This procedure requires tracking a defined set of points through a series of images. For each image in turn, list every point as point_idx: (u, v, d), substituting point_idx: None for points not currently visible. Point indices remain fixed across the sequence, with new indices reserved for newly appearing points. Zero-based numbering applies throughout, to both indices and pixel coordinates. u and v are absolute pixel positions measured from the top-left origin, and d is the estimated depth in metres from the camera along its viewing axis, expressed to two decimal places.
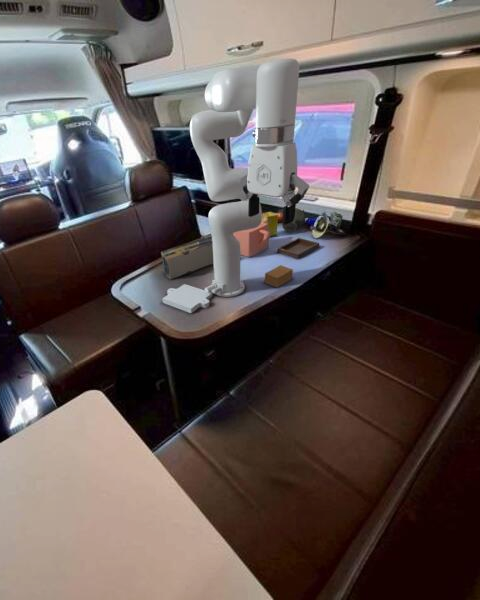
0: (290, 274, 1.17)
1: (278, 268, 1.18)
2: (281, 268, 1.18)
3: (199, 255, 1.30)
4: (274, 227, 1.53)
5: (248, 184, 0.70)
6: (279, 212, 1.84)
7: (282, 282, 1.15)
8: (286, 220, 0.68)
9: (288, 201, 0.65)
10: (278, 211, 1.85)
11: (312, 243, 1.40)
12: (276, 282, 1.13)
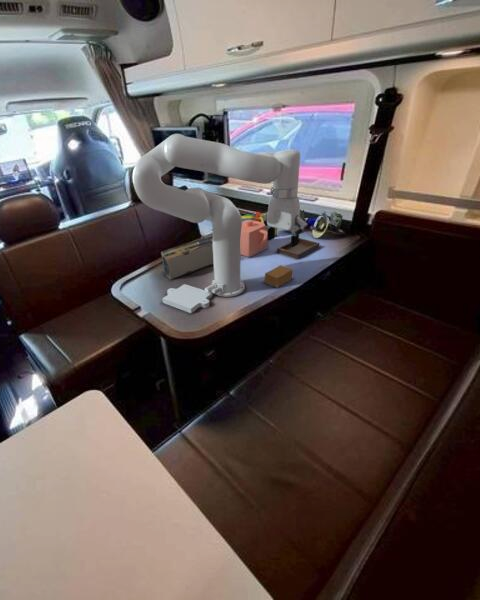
0: (290, 274, 1.17)
1: (278, 268, 1.18)
2: (281, 268, 1.18)
3: (199, 255, 1.30)
4: None
5: (267, 220, 1.07)
6: None
7: (282, 282, 1.15)
8: (293, 244, 1.04)
9: (294, 233, 1.02)
10: None
11: (312, 243, 1.40)
12: (276, 282, 1.13)
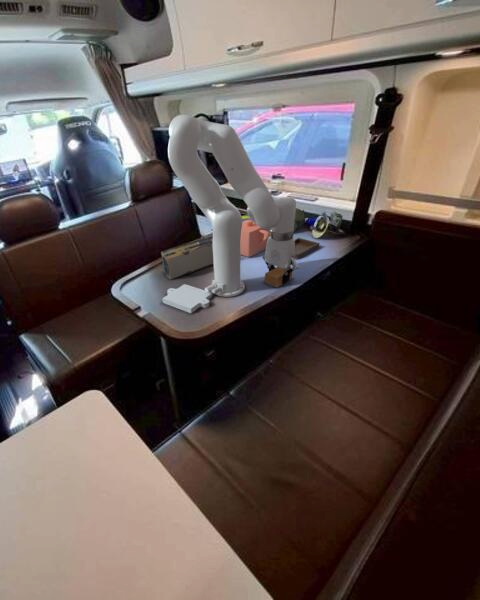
0: (290, 274, 1.17)
1: (278, 268, 1.18)
2: (281, 268, 1.18)
3: (199, 255, 1.30)
4: None
5: (265, 258, 1.15)
6: None
7: None
8: (284, 281, 1.15)
9: (285, 272, 1.12)
10: None
11: (312, 243, 1.40)
12: (276, 282, 1.13)
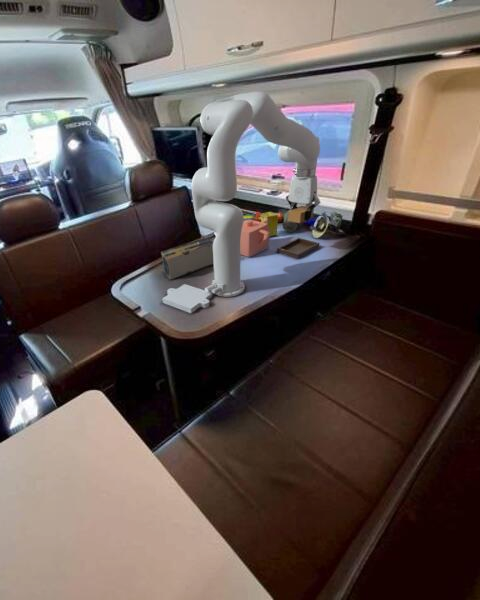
0: None
1: (300, 207, 1.30)
2: (303, 207, 1.30)
3: (200, 255, 1.30)
4: (274, 227, 1.53)
5: (289, 197, 1.27)
6: (279, 212, 1.84)
7: (304, 219, 1.27)
8: (306, 218, 1.27)
9: (308, 208, 1.24)
10: (278, 211, 1.85)
11: (312, 243, 1.40)
12: (299, 218, 1.25)
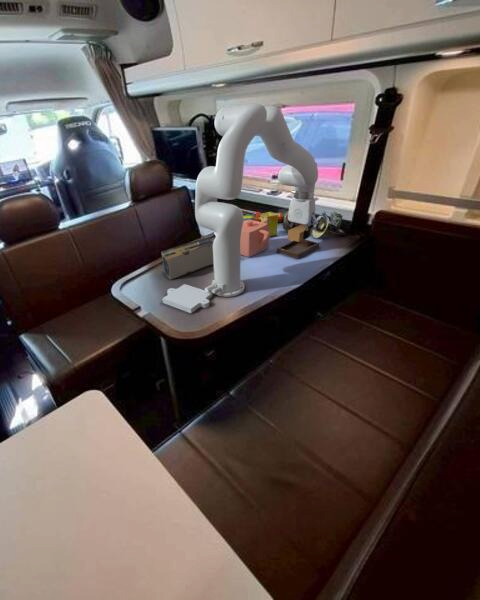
0: (310, 231, 1.34)
1: (299, 226, 1.36)
2: (302, 226, 1.36)
3: (200, 255, 1.30)
4: (274, 227, 1.53)
5: (288, 216, 1.33)
6: (279, 212, 1.84)
7: None
8: (305, 237, 1.33)
9: (306, 228, 1.30)
10: (278, 211, 1.85)
11: (312, 243, 1.40)
12: (298, 237, 1.31)
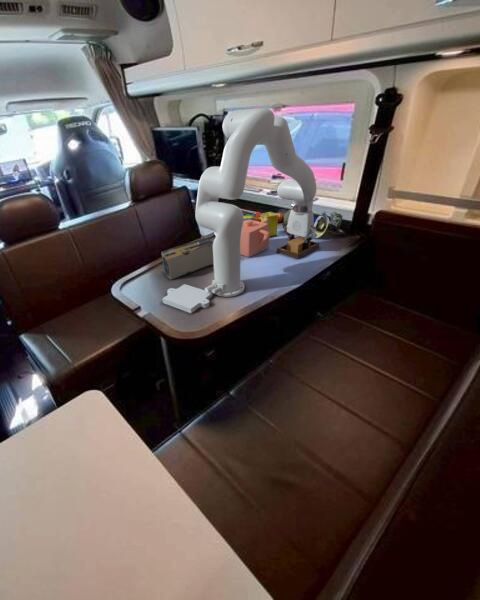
0: None
1: (298, 238, 1.39)
2: (300, 238, 1.39)
3: (200, 255, 1.30)
4: (274, 227, 1.53)
5: (287, 229, 1.36)
6: (279, 212, 1.84)
7: None
8: (304, 249, 1.35)
9: (305, 240, 1.33)
10: (278, 211, 1.85)
11: (312, 243, 1.40)
12: (297, 248, 1.34)
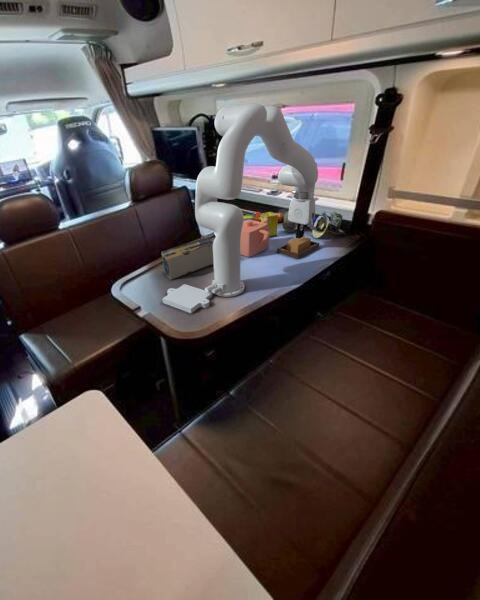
0: (308, 242, 1.37)
1: None
2: (300, 238, 1.39)
3: (200, 255, 1.30)
4: (274, 227, 1.53)
5: (288, 216, 1.33)
6: (279, 212, 1.84)
7: (302, 249, 1.36)
8: (299, 236, 1.35)
9: (301, 227, 1.32)
10: (278, 211, 1.85)
11: (312, 243, 1.40)
12: (297, 248, 1.34)
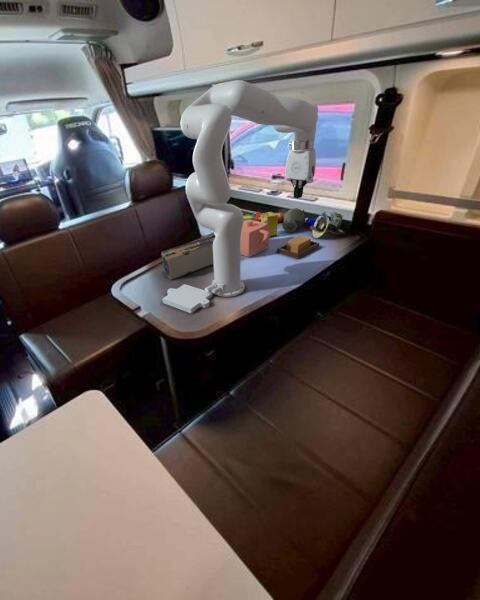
0: (308, 242, 1.37)
1: (298, 238, 1.39)
2: (300, 238, 1.39)
3: (200, 255, 1.30)
4: (274, 227, 1.53)
5: (285, 173, 1.18)
6: (279, 212, 1.84)
7: (302, 249, 1.36)
8: (298, 195, 1.20)
9: (299, 184, 1.17)
10: (278, 211, 1.85)
11: (312, 243, 1.40)
12: (297, 248, 1.34)
